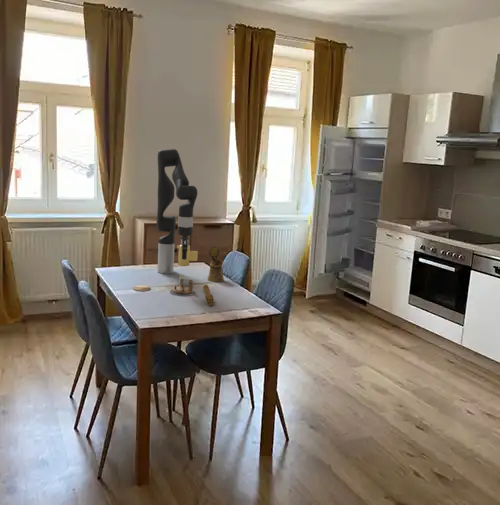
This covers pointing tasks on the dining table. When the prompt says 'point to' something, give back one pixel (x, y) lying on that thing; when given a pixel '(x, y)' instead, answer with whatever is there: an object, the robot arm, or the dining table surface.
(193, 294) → the stand base
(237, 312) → the dining table surface
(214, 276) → the wooden mug
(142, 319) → the dining table surface
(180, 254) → the cylinder with side tabs
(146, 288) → the coaster
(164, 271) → the robot arm
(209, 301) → the tap handle
